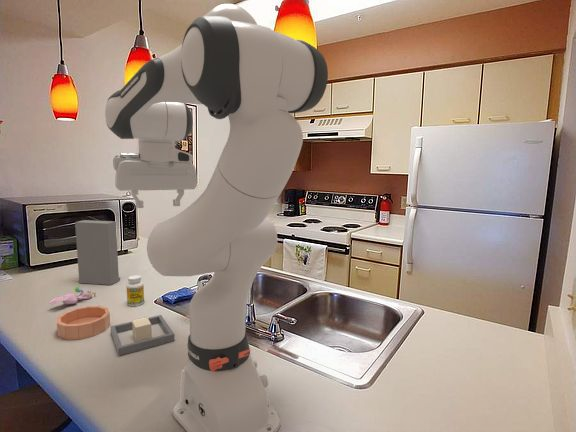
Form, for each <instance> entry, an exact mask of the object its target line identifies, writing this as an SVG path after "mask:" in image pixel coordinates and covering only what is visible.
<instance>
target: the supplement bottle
mask: <svg viewBox="0 0 576 432" xmlns="http://www.w3.org/2000/svg"><path fill="white" fill-rule="evenodd" d="M141 280H142V276H141V275H139V274H135V275H131V276H128V277H127V281H128V283H127V284H126V299H127V300H126V301H127V305H128V306H129V307H138V306H141V305H144V303H145V289H144V282H143V281H141Z"/></svg>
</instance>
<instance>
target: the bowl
mask: <svg viewBox="0 0 576 432" xmlns="http://www.w3.org/2000/svg"><path fill="white" fill-rule="evenodd" d="M110 316H111V315H110V310H109V308H108V307H106V306H102V305H87V306H82V307H77V308H74V309H71V310H68V311H66V312H63V313H62V314H61V315H59V316H57V317H56V330H57V338H60V339H63V340H67V341H68V340H81V339H82V340H84V339H86V338H90V337H94V336H97V335H99V334H100V333H103V332H106V330H107V329H108V328H109V327H110V326H111V317H110Z"/></svg>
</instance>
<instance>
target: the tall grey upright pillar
mask: <svg viewBox="0 0 576 432" xmlns="http://www.w3.org/2000/svg"><path fill="white" fill-rule="evenodd" d="M74 227H75V238H76V240H75V241H76V242H75V243H76V253H77V270H78V271H77V272H78V283H79V284H92V285H107V286H112V285H114V284H116V283H117V282H119V281H121V277H120V276H119V258H118V257H119V256H118V240H117V239H118V238H117V234H118V233H117V221H112V220H91V219H88V220H87V219H84V220H79V221H75V222H74Z"/></svg>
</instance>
